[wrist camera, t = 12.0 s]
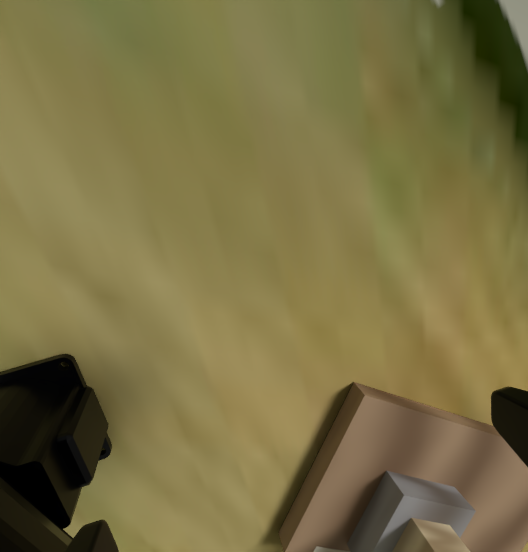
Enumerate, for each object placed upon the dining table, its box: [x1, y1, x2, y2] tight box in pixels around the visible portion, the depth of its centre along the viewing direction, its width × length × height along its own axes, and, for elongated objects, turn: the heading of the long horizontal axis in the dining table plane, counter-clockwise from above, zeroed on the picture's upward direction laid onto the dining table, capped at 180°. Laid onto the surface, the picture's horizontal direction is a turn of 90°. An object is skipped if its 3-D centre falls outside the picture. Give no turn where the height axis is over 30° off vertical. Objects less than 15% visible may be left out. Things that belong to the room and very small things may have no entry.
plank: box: [279, 382, 528, 552], centre depth 27 cm, size 20×12×2 cm, turn 66°
